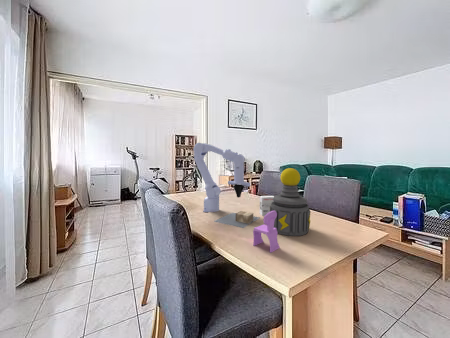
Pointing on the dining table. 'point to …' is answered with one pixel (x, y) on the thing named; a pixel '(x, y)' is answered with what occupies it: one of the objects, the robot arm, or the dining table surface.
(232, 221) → the slate board
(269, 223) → the toy chair
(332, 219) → the dining table surface
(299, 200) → the decorative lamp
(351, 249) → the dining table surface
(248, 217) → the maple block
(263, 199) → the ink box
